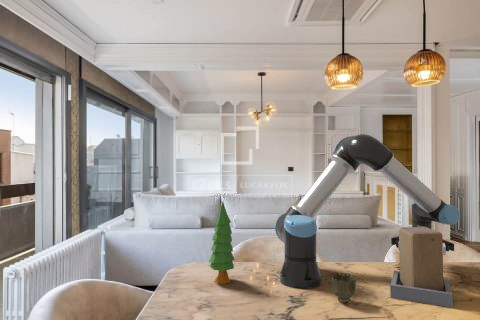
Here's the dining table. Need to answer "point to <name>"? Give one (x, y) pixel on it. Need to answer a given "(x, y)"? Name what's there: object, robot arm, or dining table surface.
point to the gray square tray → (421, 292)
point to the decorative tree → (222, 247)
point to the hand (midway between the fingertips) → (421, 248)
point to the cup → (344, 286)
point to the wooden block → (421, 258)
